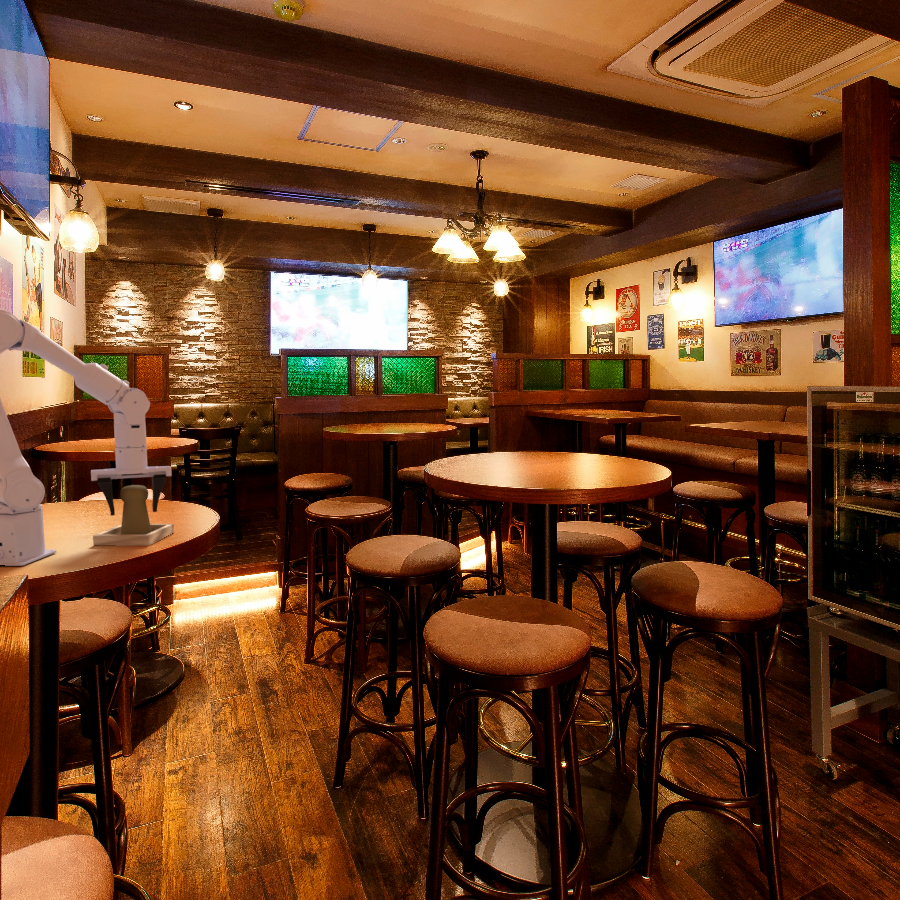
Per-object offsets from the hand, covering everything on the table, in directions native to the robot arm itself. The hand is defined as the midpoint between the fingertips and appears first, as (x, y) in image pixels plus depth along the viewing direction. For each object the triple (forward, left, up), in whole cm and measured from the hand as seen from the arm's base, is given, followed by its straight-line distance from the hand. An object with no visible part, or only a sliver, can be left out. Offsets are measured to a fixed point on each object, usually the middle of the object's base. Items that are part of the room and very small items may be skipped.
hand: (134, 512), depth 127 cm
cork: (+1, 0, -6) cm, 6 cm away
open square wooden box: (0, 0, -6) cm, 6 cm away
